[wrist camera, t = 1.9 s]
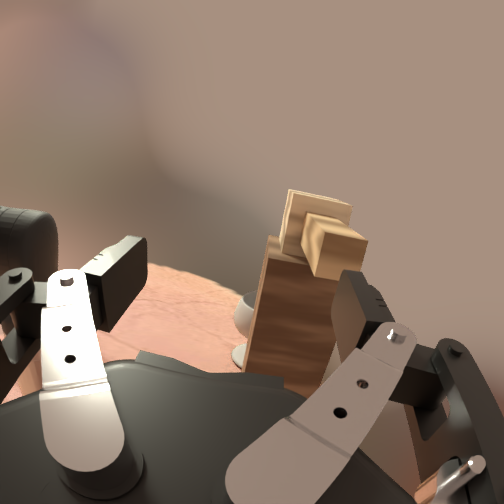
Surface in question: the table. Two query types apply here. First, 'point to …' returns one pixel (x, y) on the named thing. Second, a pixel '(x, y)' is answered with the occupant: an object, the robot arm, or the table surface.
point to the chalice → (243, 323)
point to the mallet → (321, 234)
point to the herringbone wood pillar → (291, 322)
